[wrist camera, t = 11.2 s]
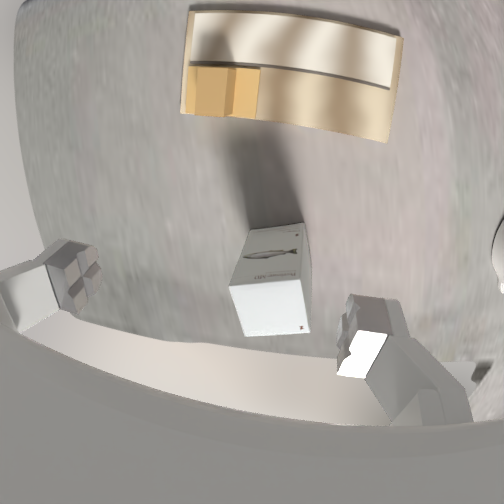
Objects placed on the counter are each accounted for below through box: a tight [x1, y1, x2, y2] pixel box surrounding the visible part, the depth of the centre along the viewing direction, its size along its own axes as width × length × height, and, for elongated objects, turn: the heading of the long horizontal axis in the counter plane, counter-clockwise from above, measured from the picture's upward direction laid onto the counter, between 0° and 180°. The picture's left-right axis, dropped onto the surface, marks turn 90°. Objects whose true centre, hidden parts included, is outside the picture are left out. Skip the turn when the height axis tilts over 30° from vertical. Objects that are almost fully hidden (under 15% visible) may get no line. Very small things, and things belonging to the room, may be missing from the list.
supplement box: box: [228, 223, 312, 337], centre depth 36 cm, size 7×7×13 cm
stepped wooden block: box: [185, 66, 261, 119], centre depth 29 cm, size 8×6×5 cm
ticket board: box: [180, 10, 404, 143], centre depth 29 cm, size 24×13×2 cm, turn 85°
